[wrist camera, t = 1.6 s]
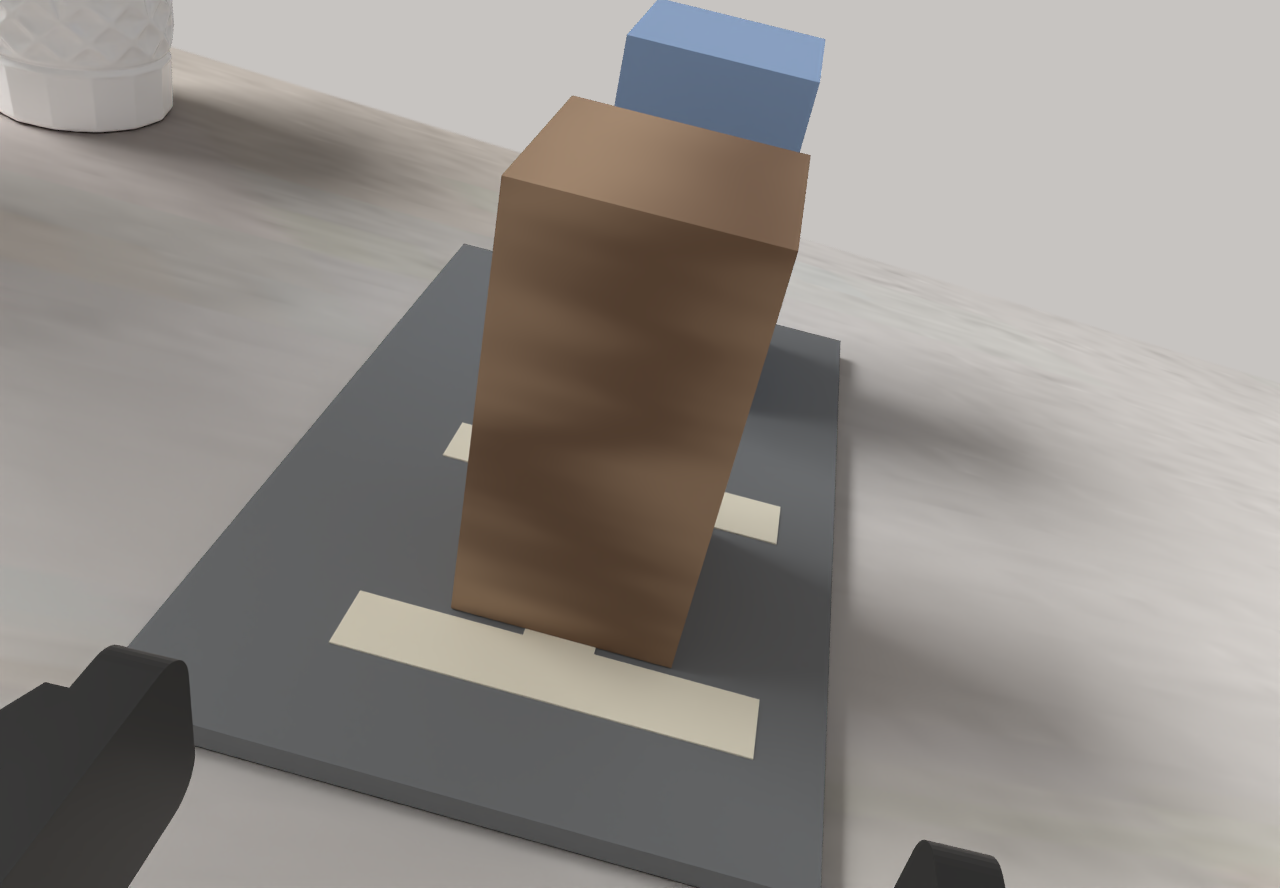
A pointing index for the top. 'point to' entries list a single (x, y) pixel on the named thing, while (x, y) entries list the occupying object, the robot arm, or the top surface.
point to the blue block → (721, 74)
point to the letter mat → (524, 630)
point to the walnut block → (619, 370)
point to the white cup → (86, 63)
